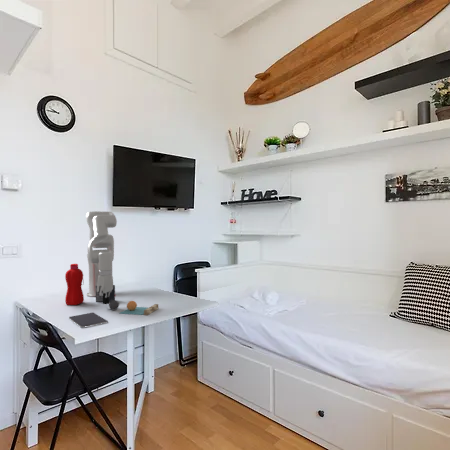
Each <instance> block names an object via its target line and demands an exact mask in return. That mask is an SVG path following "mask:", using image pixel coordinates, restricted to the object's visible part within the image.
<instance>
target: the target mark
mask: <svg viewBox="0 0 450 450" xmlns="http://www.w3.org/2000/svg"><path fill="white" fill-rule="evenodd" d="M147 308H149V307H147V306H146V307H144V306H143V307H142V306H137V307H136V309H135V310H132V311H131V310H128V308H126V309H125V310H123V311H120V312H119V314H123V315H136V316H137V315H140V316H144V310H146V309H147Z"/></svg>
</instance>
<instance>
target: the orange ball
mask: <svg viewBox="0 0 450 450" xmlns="http://www.w3.org/2000/svg"><path fill="white" fill-rule="evenodd" d="M136 307H138V304H137V302H136V301H135V300H129V301H128V302H127V304H126V309H128V310H131V311H132V310H135V309H136Z"/></svg>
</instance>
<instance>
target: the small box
mask: <svg viewBox="0 0 450 450" xmlns="http://www.w3.org/2000/svg"><path fill="white" fill-rule="evenodd" d="M112 300H116V285H115V284H113V290H112V292H111V293H110V296H109V303H110V302H111V301H112ZM95 303H102V304H103V297H102V296H99V293H97V286H96V296H95Z"/></svg>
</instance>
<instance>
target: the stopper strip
mask: <svg viewBox="0 0 450 450" xmlns="http://www.w3.org/2000/svg"><path fill="white" fill-rule="evenodd" d="M158 309H159V304H158V303H155V304H153V305H151V306H149V307H148V308H147V309H146V310H144V314H143V316H149V315H150V314H152V313H153V312H155V311H157V310H158Z"/></svg>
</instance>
